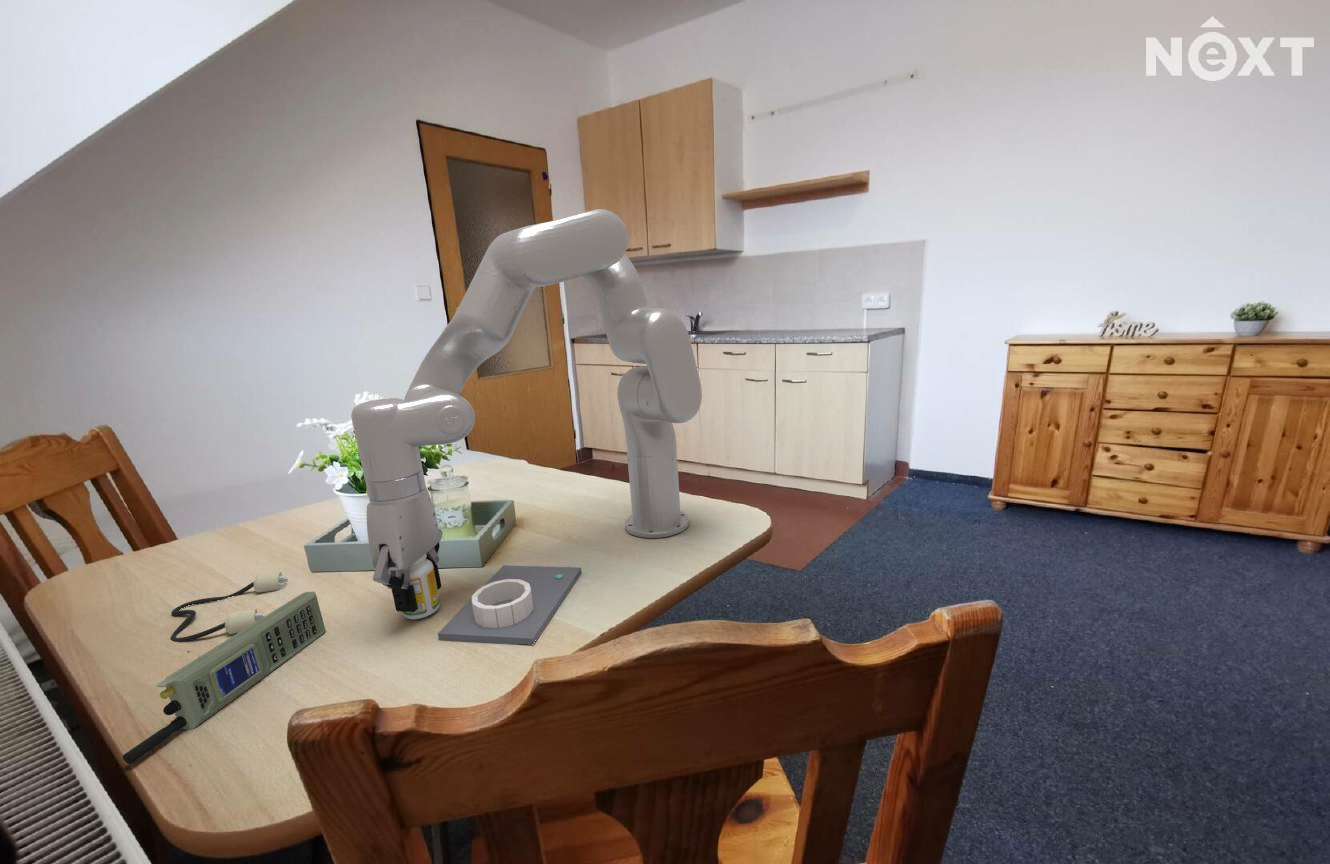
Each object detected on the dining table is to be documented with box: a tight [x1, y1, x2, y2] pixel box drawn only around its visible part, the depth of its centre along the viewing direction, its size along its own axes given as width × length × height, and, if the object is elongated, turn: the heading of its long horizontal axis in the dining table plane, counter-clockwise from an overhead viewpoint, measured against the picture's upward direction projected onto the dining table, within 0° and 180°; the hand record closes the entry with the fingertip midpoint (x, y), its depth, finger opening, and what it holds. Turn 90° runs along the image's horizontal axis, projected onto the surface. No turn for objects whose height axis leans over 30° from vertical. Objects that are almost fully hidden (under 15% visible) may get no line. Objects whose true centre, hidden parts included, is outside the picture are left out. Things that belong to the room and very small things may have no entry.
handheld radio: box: [122, 591, 327, 765], centre depth 70 cm, size 7×3×25 cm
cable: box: [169, 571, 289, 643], centre depth 88 cm, size 16×16×4 cm
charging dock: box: [437, 564, 582, 645], centre depth 86 cm, size 20×14×4 cm
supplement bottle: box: [396, 554, 441, 620], centre depth 84 cm, size 5×5×10 cm
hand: (419, 598), depth 85 cm, fingers closed on supplement bottle, 5 cm apart
